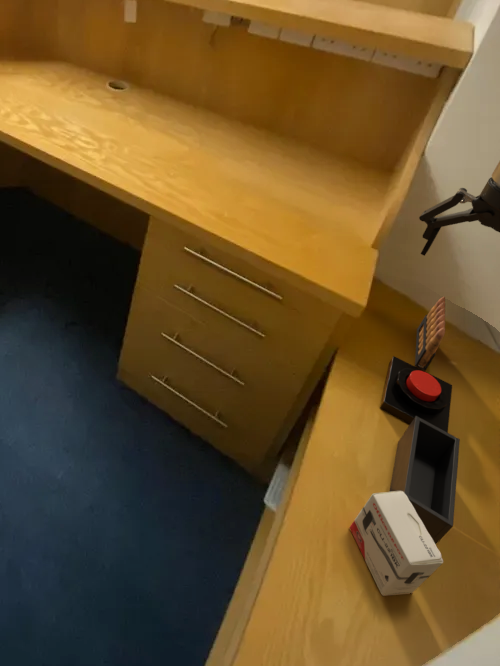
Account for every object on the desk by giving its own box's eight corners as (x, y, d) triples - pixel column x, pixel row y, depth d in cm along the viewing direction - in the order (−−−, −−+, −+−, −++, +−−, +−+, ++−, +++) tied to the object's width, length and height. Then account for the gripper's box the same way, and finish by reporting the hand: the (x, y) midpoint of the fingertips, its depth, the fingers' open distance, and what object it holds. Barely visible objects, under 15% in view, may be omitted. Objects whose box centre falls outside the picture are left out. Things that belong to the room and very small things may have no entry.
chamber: (439, 464, 88) (459, 439, 84) (429, 550, 78) (453, 526, 73) (398, 441, 91) (416, 415, 87) (384, 520, 81) (403, 496, 76)
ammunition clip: (417, 328, 111) (439, 291, 105) (426, 332, 110) (449, 296, 104) (414, 366, 104) (438, 328, 97) (425, 371, 103) (450, 333, 97)
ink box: (347, 526, 80) (372, 491, 74) (376, 523, 81) (404, 488, 74) (381, 597, 73) (412, 565, 67) (413, 594, 73) (447, 561, 67)
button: (407, 371, 99) (411, 365, 98) (438, 386, 96) (442, 380, 95) (404, 391, 95) (408, 384, 94) (435, 407, 93) (440, 401, 92)
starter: (389, 362, 104) (396, 350, 102) (447, 391, 99) (456, 379, 97) (379, 408, 96) (387, 396, 94) (442, 442, 91) (451, 430, 89)
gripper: (428, 162, 94) (387, 244, 105) (611, 235, 78) (540, 323, 89) (441, 148, 99) (400, 228, 110) (616, 213, 83) (549, 300, 94)
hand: (463, 271), depth 100 cm, fingers open, 13 cm apart
